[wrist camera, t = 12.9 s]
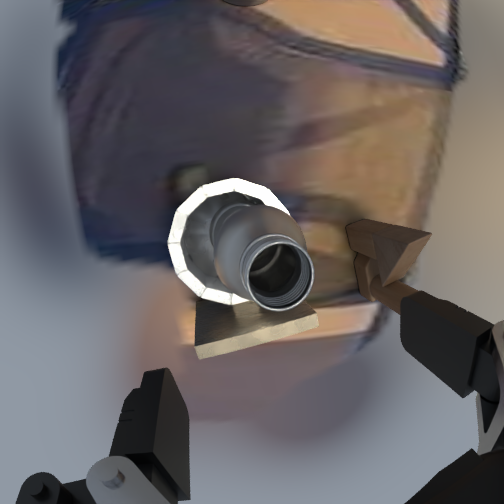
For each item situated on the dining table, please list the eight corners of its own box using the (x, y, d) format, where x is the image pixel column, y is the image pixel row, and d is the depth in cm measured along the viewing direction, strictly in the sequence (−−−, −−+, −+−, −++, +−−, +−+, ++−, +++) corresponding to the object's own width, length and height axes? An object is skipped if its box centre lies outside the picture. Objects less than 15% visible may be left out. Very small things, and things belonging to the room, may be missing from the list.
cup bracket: (166, 196, 35) (148, 198, 23) (264, 173, 36) (291, 164, 25) (198, 312, 38) (197, 359, 27) (288, 288, 40) (320, 325, 28)
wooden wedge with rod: (365, 217, 40) (458, 238, 22) (379, 285, 42) (460, 333, 25) (344, 225, 39) (432, 251, 22) (359, 294, 42) (436, 349, 25)
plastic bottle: (214, 263, 34) (229, 350, 15) (204, 205, 33) (203, 222, 14) (268, 252, 35) (343, 322, 16) (259, 195, 34) (333, 199, 14)
